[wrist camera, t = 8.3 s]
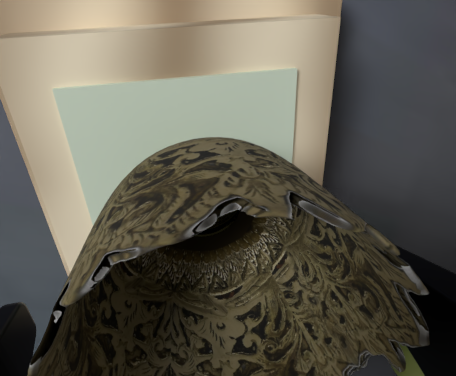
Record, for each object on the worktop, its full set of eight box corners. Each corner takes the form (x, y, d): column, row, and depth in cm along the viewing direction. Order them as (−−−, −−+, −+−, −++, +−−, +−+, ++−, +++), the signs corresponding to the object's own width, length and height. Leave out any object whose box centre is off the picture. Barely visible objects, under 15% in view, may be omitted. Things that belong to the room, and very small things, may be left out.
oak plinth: (321, -17, 14) (377, -20, 11) (301, 230, 21) (331, 279, 17) (-11, 0, 13) (-77, 2, 9) (80, 264, 19) (64, 327, 15)
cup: (228, 276, 16) (285, 489, 9) (66, 223, 13) (-30, 480, 6) (326, 143, 13) (507, 300, 7) (153, 40, 10) (152, 130, 4)
